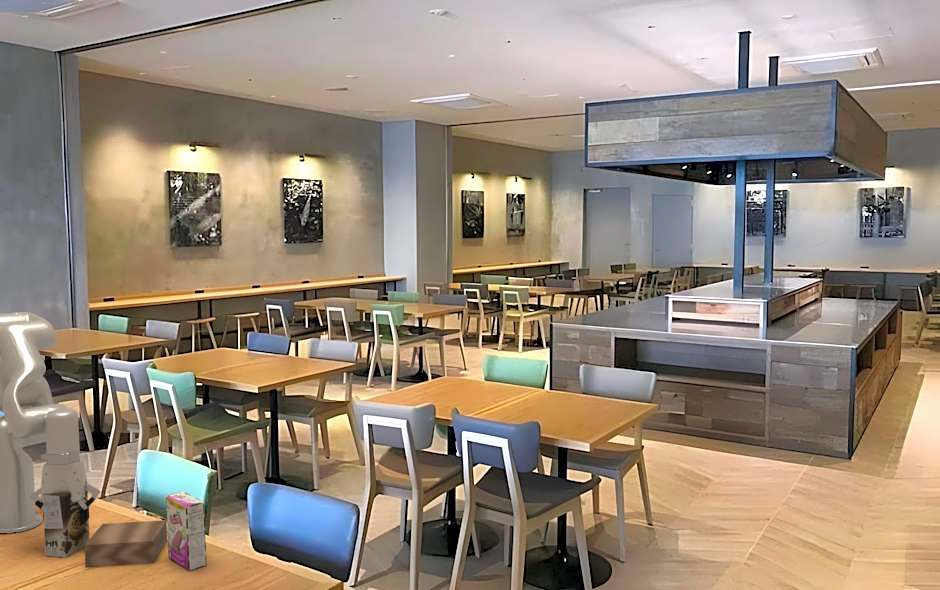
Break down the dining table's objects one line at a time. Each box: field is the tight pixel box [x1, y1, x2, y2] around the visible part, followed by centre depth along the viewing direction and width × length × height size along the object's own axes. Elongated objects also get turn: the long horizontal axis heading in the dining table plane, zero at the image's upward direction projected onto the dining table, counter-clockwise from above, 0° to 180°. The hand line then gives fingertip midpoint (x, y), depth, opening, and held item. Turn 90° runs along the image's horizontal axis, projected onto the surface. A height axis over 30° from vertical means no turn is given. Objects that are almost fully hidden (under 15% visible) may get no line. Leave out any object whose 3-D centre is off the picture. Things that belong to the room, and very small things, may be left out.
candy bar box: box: [165, 491, 207, 572], centre depth 191 cm, size 11×5×16 cm, turn 47°
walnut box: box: [84, 519, 168, 568], centre depth 197 cm, size 16×14×6 cm
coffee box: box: [43, 493, 90, 558], centre depth 199 cm, size 9×6×16 cm
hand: (66, 523), depth 199 cm, fingers closed on coffee box, 8 cm apart
